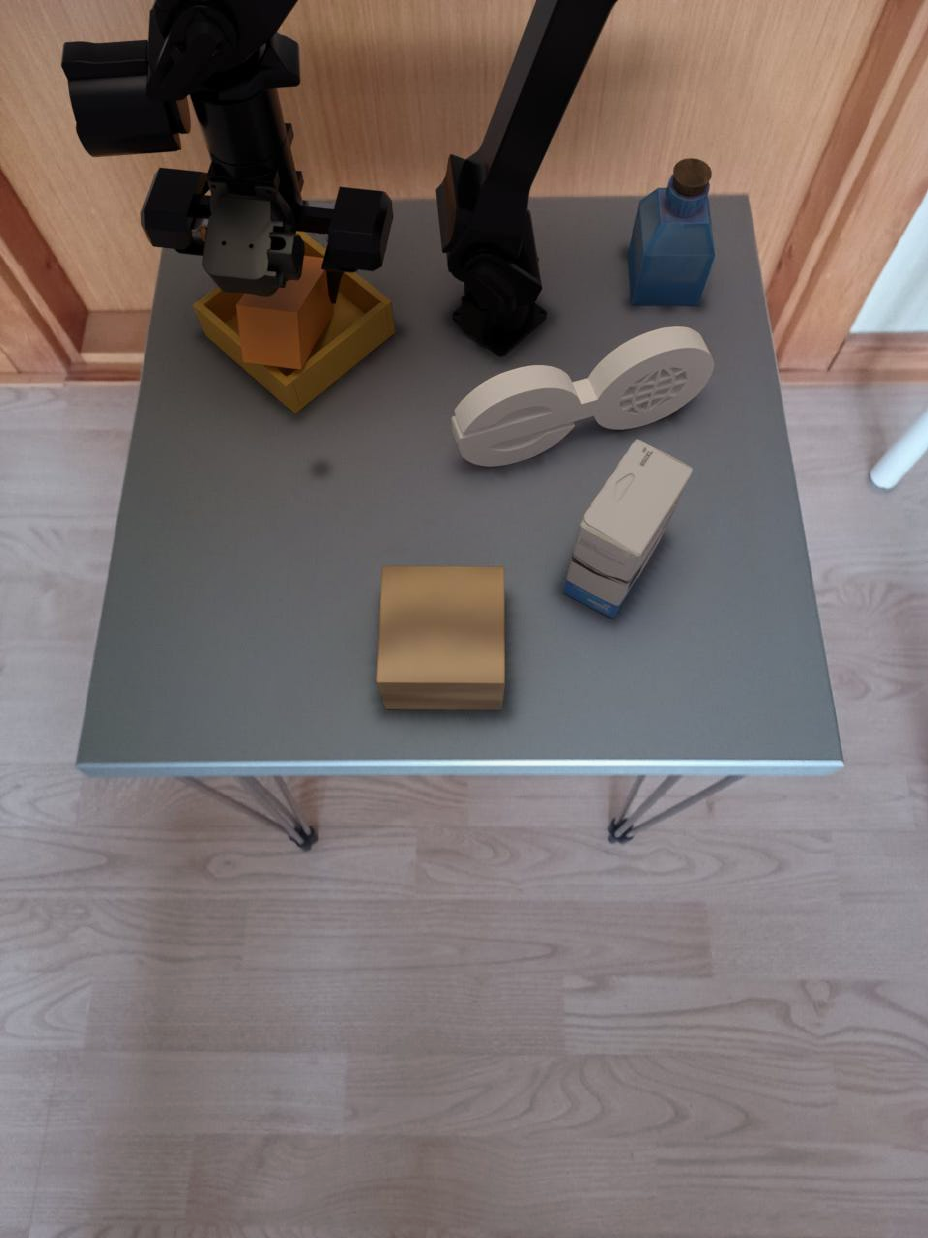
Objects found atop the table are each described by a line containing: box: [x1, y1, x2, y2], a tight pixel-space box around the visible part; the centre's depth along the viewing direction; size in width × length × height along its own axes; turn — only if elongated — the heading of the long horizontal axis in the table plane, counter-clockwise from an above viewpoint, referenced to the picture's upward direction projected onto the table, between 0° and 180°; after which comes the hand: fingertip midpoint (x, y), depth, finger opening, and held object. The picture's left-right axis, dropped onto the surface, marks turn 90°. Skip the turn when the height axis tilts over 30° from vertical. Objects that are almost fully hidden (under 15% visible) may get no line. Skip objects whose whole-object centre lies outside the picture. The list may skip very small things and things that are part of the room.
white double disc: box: [450, 325, 715, 468], centre depth 71 cm, size 22×2×10 cm, turn 108°
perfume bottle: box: [627, 157, 716, 307], centre depth 76 cm, size 6×6×12 cm
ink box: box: [562, 438, 694, 619], centre depth 66 cm, size 8×5×12 cm, turn 148°
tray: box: [192, 231, 396, 415], centre depth 78 cm, size 12×12×4 cm
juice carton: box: [236, 256, 334, 369], centre depth 75 cm, size 5×5×11 cm
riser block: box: [375, 565, 506, 711], centre depth 65 cm, size 9×9×7 cm
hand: (289, 294), depth 75 cm, fingers open, 8 cm apart
